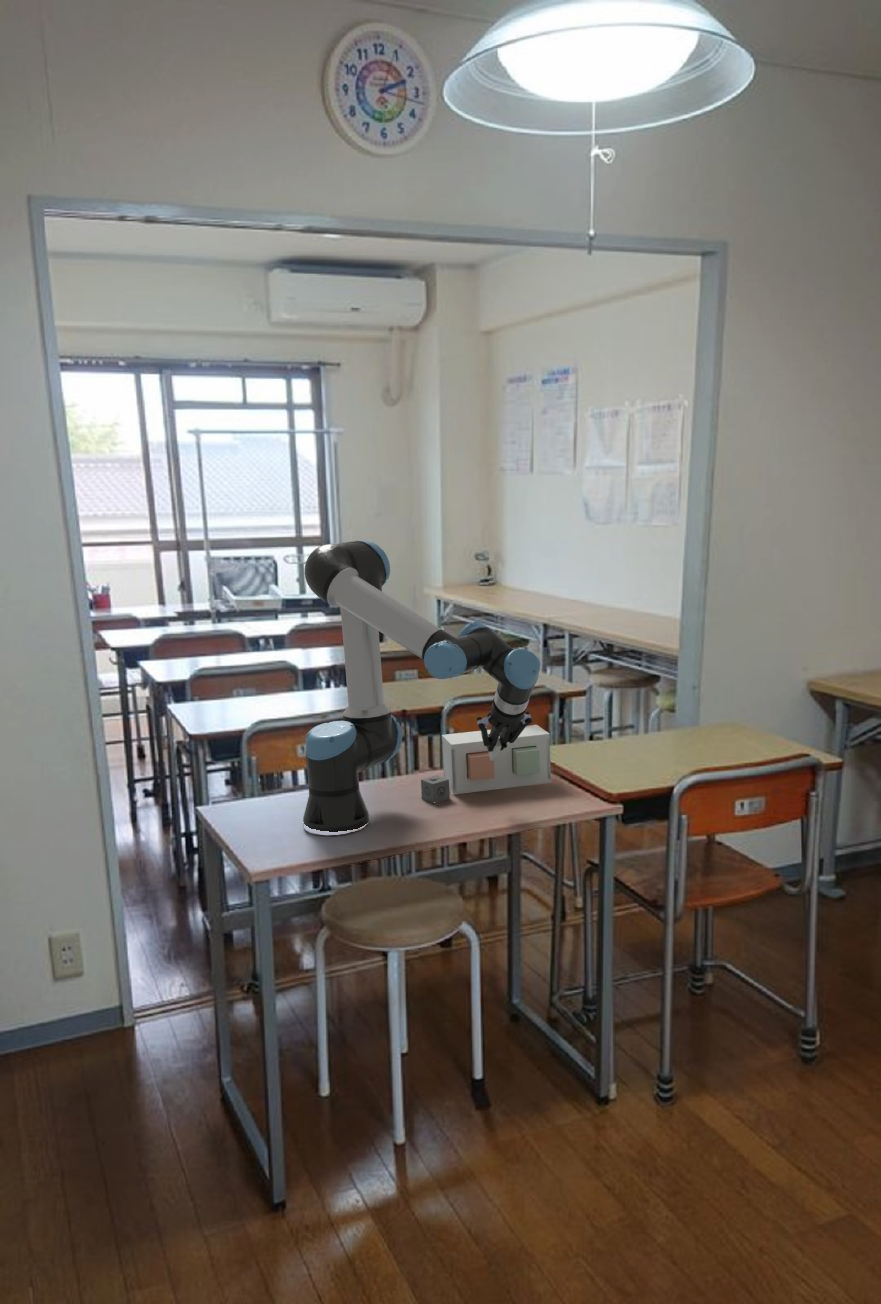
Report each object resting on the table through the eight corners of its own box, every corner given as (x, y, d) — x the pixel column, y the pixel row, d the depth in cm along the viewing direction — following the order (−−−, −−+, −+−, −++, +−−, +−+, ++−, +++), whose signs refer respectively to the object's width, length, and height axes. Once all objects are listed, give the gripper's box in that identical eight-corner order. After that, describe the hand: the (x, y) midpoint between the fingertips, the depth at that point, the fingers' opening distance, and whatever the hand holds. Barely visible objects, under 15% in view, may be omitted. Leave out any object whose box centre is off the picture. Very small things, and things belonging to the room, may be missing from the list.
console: (453, 794, 230) (451, 744, 228) (444, 782, 240) (441, 734, 237) (550, 782, 236) (549, 733, 234) (537, 771, 245) (536, 724, 243)
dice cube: (421, 798, 228) (420, 779, 227) (437, 794, 231) (437, 775, 230) (433, 803, 224) (432, 784, 223) (449, 798, 227) (448, 779, 226)
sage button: (517, 775, 230) (516, 752, 229) (508, 767, 237) (507, 745, 236) (539, 772, 231) (539, 749, 230) (530, 765, 238) (529, 742, 237)
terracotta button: (471, 780, 227) (470, 757, 226) (464, 772, 234) (463, 750, 233) (494, 778, 229) (493, 755, 228) (486, 770, 235) (485, 747, 234)
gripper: (485, 719, 198) (469, 772, 217) (542, 713, 201) (522, 766, 219) (478, 690, 202) (462, 745, 221) (534, 685, 205) (514, 739, 224)
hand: (492, 755), depth 220 cm, fingers closed
